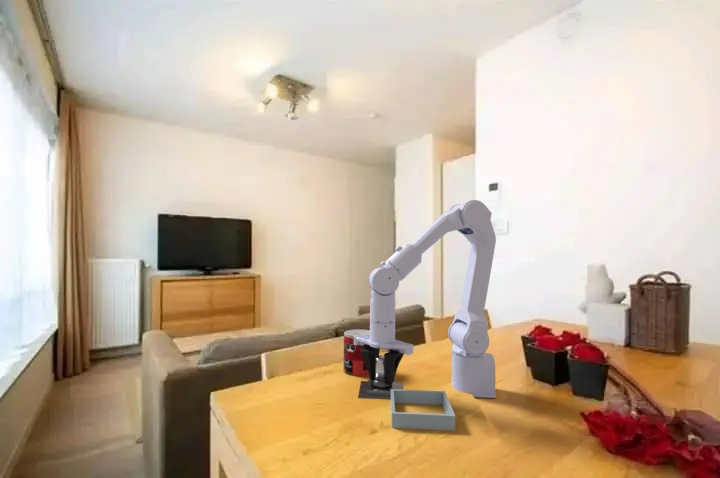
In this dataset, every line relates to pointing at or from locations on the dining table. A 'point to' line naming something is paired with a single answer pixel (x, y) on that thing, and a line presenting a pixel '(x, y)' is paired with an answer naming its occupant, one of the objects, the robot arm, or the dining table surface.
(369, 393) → the gray recessed square plate
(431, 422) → the bin
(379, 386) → the metal flanged cylinder
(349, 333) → the canned food
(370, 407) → the dining table surface
